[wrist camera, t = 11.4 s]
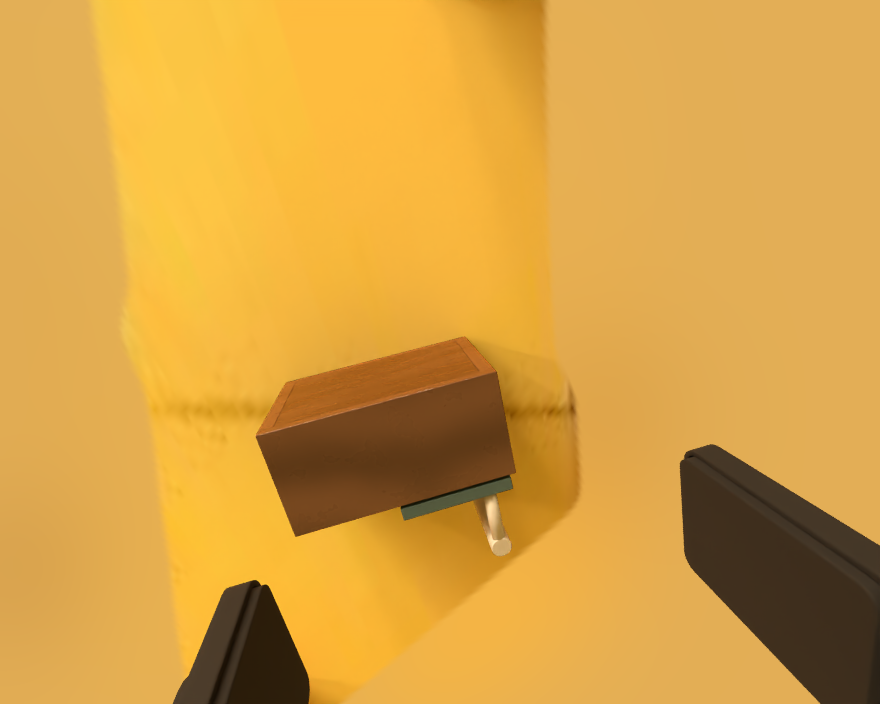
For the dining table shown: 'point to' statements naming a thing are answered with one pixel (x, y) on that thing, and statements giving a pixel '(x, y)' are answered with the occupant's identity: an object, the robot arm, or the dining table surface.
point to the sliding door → (483, 503)
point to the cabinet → (385, 434)
